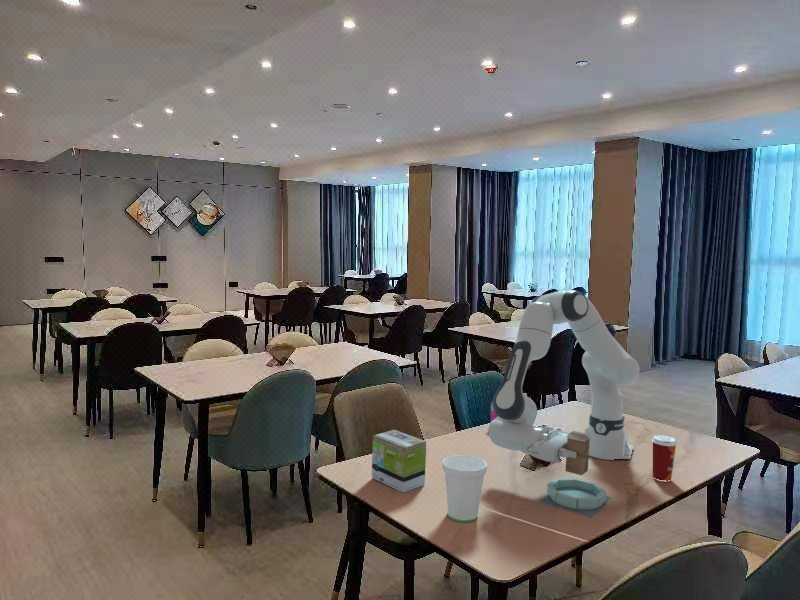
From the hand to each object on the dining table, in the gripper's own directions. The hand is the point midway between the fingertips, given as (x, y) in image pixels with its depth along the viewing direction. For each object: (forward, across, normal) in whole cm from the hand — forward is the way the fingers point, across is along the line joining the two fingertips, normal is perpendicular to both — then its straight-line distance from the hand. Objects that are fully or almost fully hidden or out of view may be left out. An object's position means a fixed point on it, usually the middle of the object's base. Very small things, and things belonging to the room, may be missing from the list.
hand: (580, 452), depth 177 cm
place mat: (-1, 0, +15) cm, 15 cm away
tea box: (-50, -24, +16) cm, 57 cm away
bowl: (-1, 0, +15) cm, 15 cm away
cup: (-22, -31, +16) cm, 41 cm away
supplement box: (-52, +50, +15) cm, 73 cm away
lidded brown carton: (-1, 0, +6) cm, 6 cm away
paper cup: (+15, +36, +15) cm, 42 cm away
